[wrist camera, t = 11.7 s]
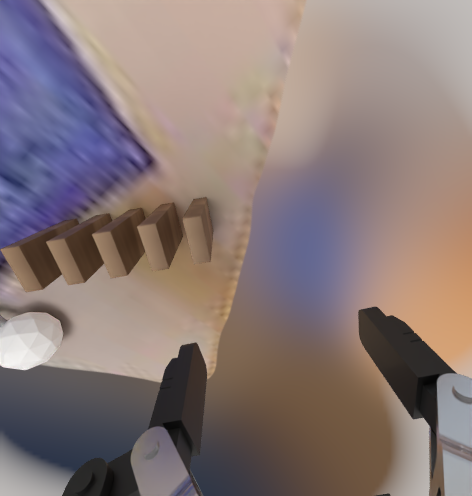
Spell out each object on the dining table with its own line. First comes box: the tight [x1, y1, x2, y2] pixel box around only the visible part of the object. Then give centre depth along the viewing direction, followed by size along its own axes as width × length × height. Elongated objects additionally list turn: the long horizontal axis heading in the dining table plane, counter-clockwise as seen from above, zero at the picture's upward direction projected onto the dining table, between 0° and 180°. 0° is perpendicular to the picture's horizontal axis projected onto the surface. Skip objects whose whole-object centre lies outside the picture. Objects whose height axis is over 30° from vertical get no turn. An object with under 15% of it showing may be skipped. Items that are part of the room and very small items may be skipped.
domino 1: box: [0, 219, 79, 292], centre depth 28 cm, size 2×5×10 cm, turn 9°
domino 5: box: [183, 197, 213, 264], centre depth 28 cm, size 2×5×10 cm, turn 9°
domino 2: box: [46, 213, 112, 285], centre depth 28 cm, size 2×5×10 cm, turn 9°
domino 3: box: [92, 208, 145, 278], centre depth 28 cm, size 2×5×10 cm, turn 9°
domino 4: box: [137, 203, 183, 271], centre depth 28 cm, size 2×5×10 cm, turn 9°
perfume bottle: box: [0, 312, 63, 370], centre depth 34 cm, size 8×8×12 cm
